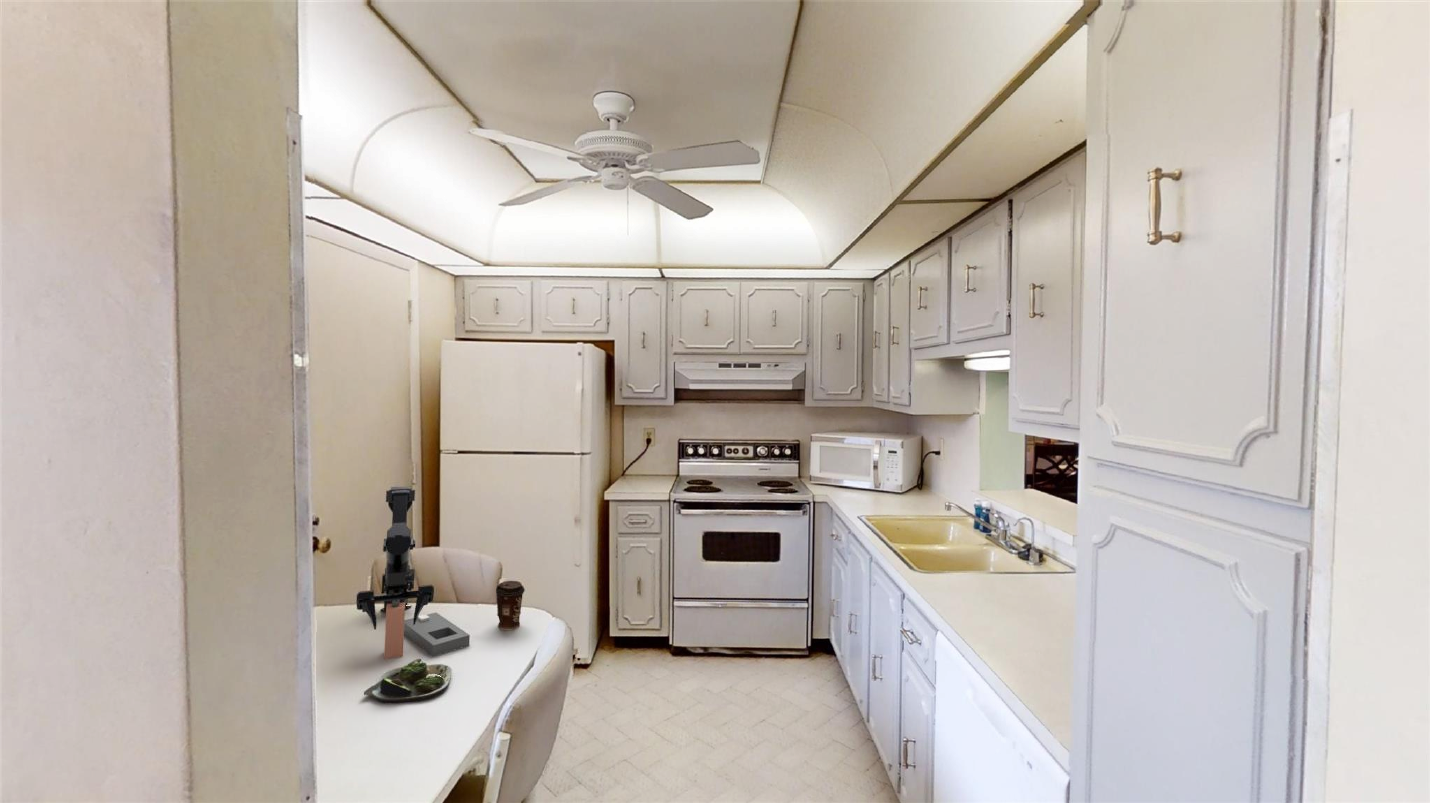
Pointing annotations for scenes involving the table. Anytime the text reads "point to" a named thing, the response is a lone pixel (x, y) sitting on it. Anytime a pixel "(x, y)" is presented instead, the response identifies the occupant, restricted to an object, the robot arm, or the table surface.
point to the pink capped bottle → (394, 629)
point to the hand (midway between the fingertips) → (394, 626)
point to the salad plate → (411, 683)
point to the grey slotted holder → (436, 634)
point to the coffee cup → (509, 604)
